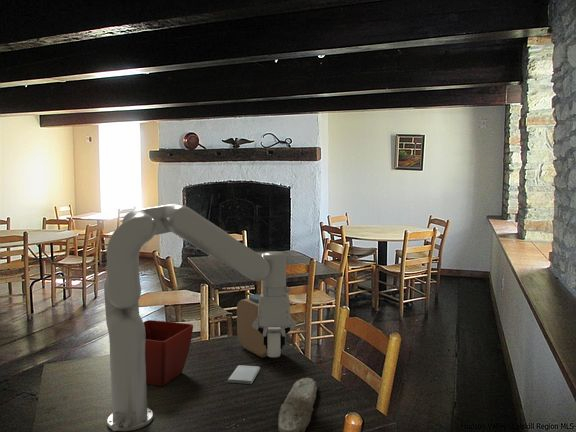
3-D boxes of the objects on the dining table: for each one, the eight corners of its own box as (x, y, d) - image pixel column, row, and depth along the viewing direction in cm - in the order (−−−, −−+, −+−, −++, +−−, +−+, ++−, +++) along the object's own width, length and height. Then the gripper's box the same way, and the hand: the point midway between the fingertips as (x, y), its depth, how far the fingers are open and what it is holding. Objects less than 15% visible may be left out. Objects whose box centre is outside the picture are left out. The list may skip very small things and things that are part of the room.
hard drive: (251, 381, 170) (260, 366, 182) (227, 379, 171) (237, 364, 184) (251, 385, 170) (260, 370, 182) (227, 384, 172) (238, 369, 184)
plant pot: (149, 363, 188) (148, 318, 187) (195, 370, 182) (194, 324, 180) (116, 384, 170) (114, 335, 169) (165, 392, 164) (164, 341, 162)
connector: (280, 357, 158) (280, 335, 157) (267, 357, 158) (267, 335, 157) (280, 344, 169) (280, 324, 168) (268, 344, 169) (268, 324, 168)
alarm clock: (286, 355, 195) (286, 300, 192) (266, 361, 189) (265, 304, 187) (257, 341, 211) (256, 289, 209) (237, 346, 205) (236, 293, 203)
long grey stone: (322, 389, 169) (293, 389, 171) (322, 374, 169) (292, 373, 170) (308, 440, 134) (271, 439, 136) (307, 421, 134) (270, 420, 136)
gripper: (300, 288, 164) (300, 343, 166) (248, 288, 165) (248, 343, 166) (300, 294, 157) (300, 351, 159) (246, 294, 157) (247, 351, 159)
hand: (274, 346), depth 163 cm, fingers closed on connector, 4 cm apart
